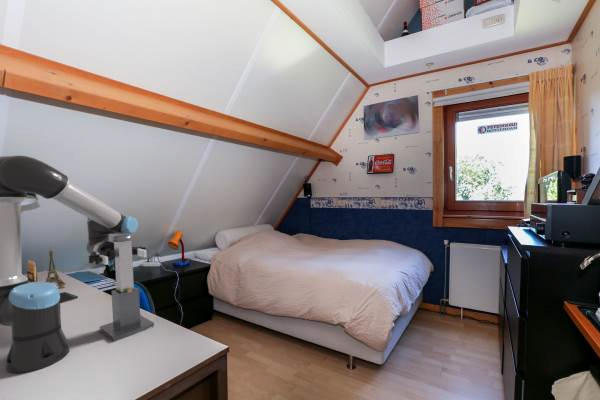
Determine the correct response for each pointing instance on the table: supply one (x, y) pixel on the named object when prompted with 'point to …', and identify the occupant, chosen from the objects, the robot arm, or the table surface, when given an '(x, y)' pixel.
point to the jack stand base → (125, 316)
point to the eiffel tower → (56, 278)
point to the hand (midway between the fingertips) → (127, 257)
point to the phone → (66, 297)
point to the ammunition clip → (31, 271)
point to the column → (123, 263)
